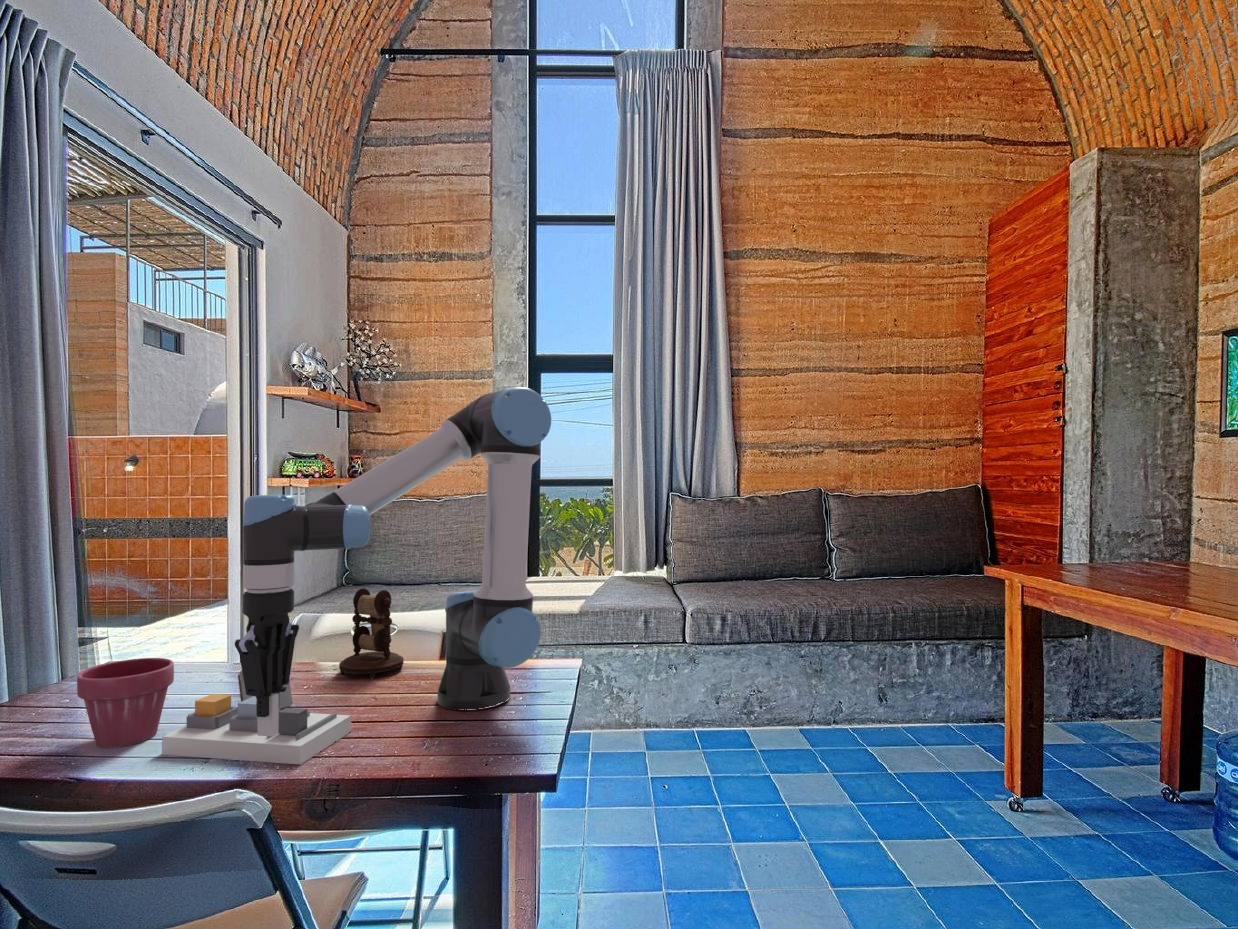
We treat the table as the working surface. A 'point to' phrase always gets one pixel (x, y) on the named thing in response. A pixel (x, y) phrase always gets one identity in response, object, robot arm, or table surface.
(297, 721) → the slide switch
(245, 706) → the grey button
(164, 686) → the plant pot
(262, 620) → the robot arm
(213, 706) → the orange button
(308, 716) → the switch panel
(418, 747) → the table surface
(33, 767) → the table surface
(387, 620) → the brown spool stand
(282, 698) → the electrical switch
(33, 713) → the table surface
